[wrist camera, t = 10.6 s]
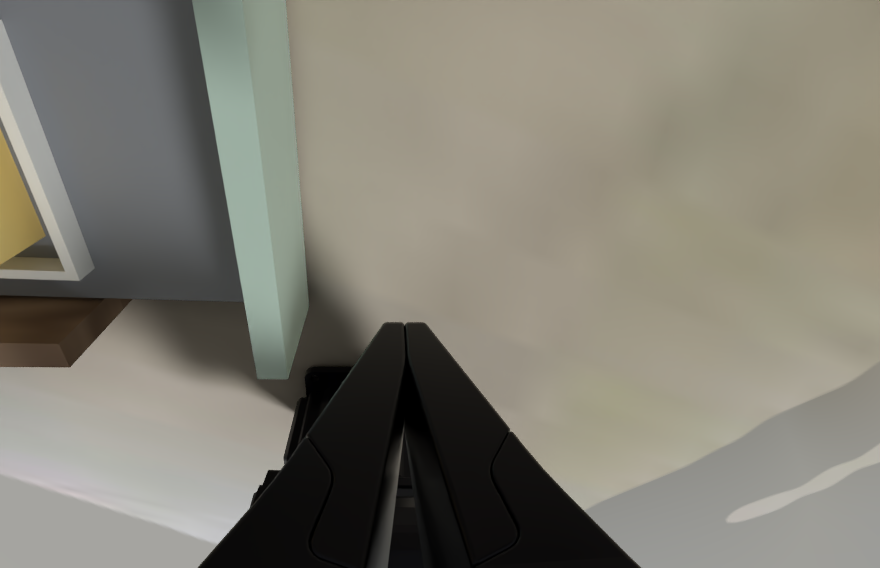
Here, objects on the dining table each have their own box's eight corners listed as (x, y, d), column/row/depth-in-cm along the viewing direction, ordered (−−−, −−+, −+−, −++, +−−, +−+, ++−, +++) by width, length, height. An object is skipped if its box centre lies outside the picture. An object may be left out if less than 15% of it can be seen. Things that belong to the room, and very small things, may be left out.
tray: (281, -60, 14) (230, -92, 10) (309, 306, 22) (287, 379, 18) (-282, -133, 12) (-658, -215, 8) (-33, 297, 20) (-152, 377, 16)
